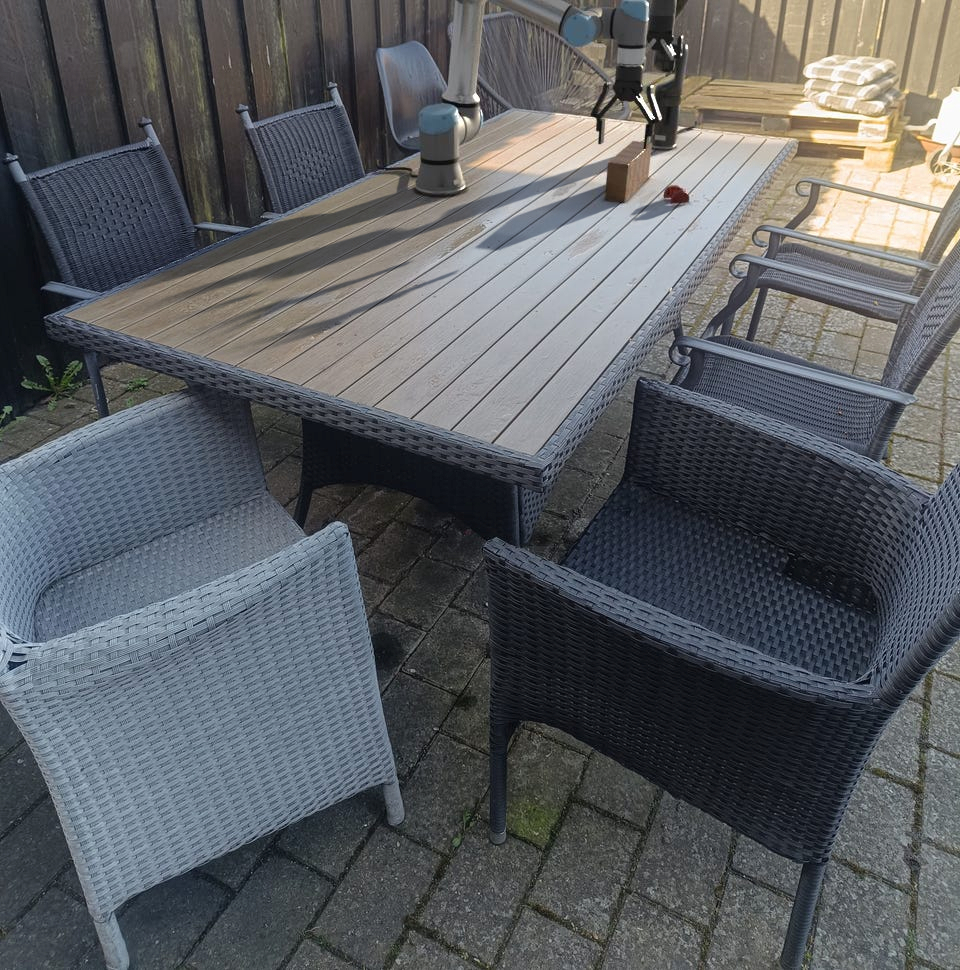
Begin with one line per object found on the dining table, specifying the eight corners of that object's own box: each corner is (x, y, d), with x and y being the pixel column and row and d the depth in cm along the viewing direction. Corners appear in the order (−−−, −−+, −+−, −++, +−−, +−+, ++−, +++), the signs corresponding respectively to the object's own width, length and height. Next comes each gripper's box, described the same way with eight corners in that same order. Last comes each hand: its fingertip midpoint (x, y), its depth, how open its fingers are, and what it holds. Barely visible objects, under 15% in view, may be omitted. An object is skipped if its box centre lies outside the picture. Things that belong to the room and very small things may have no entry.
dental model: (680, 181, 250) (692, 189, 244) (678, 195, 253) (690, 203, 247) (662, 183, 249) (674, 191, 243) (661, 197, 252) (672, 206, 246)
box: (624, 202, 248) (628, 164, 242) (604, 200, 250) (607, 162, 244) (648, 178, 268) (652, 142, 262) (629, 176, 270) (632, 140, 264)
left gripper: (678, 65, 228) (669, 147, 241) (591, 59, 238) (587, 138, 250) (670, 69, 223) (661, 153, 235) (582, 63, 232) (578, 144, 244)
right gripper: (689, 12, 252) (681, 71, 262) (642, 9, 257) (637, 68, 267) (683, 15, 247) (676, 76, 257) (636, 13, 251) (630, 72, 261)
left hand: (623, 145), depth 243 cm, fingers open, 13 cm apart
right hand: (656, 71), depth 262 cm, fingers open, 8 cm apart
